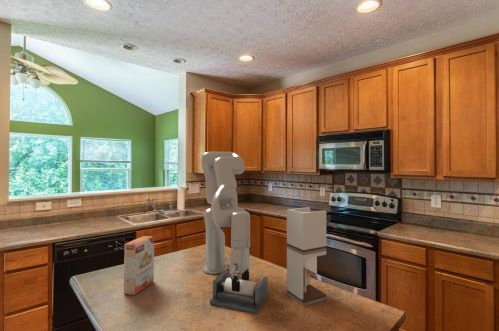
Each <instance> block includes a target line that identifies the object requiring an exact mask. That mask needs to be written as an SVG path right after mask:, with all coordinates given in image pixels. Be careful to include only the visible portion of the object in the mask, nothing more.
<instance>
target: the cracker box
mask: <svg viewBox="0 0 499 331" xmlns="http://www.w3.org/2000/svg"><path fill="white" fill-rule="evenodd" d="M123 247H124V251H123V252H124V253H123V254H124V255H123V257H124V259H123V294H124V295H130V296H136V295H138V294H139V293H141V292H142V291H143V290H145V288H147V287H149V285H151V284H152V283H153V282H154V278H155V276H154V270H155V266H154V265H155V236H151V235H149V236H147V235H143V236H140V237H139V238H135V239H133V240H131V241H128V242H126V243H124V246H123Z"/></svg>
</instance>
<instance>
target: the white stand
mask: <svg viewBox="0 0 499 331" xmlns="http://www.w3.org/2000/svg"><path fill="white" fill-rule="evenodd" d="M326 255H327V210H318V211H311V207H309V206H308V207H298V208H297V207H296V208H288V209H286V295H287V296H289V297H290V298H292V299H293V301H295V302H297V303H298V304H300V305H301V306H302V307H307V306H310V305H312V304H315V303H319V302H323V301H325V300H327V294H326V293H325V292H324V291H321V290H320V289H318V288H317V287H315V286H313V285H311V276H314V275H317V274H318V259H317V258H318V257H321V256H326Z"/></svg>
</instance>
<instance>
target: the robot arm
mask: <svg viewBox="0 0 499 331" xmlns="http://www.w3.org/2000/svg"><path fill="white" fill-rule="evenodd" d="M200 159H201V160H200V162H201V163H200V164H201V168H202V172H203V174H204V177H205V195H206V196H205V197H206V201H207V202H206V203H208V204H209V205H211V206H210V207H209V208H207V209H205V211H204V213H203V219H204V225H205V265H204V266H203V267H202V271H203V272H204V273H205V274H210V275H218V274H219V275H220V274H222V273H223V272H224V271H229V275H230V278H231V281H232V291H236V292H239V291H240V281H239V279H240V278H241V280H246V281H250V265H251V263H250V262H251V261H250V260H251V258H250V247H251V215H250V212H249V211H246V210H245V209H244V208H242V207H238V206H239V205H238V204H239V203H238V192H237V186H238V184H237V180H236V177H235V176H236V175H241V174H243V173H244V172H245V168H246V166H245V162H244V159H243V158H242V157H241V156H240V155H239V154H237V153H236V152H233V151H205V152H204V153H202V156H201V158H200ZM220 205H227V206H220ZM229 227H230V237H231V238H230V243H231V244H230V245H231V246H230V247H231V249H230V258H229V266H228V265H227V264H226V261H227V260H228V257H227V256H226V252H225V251H226V249H225V248H226V235H225V232H224V231H223V229H221V228H229ZM228 269H229V270H228Z"/></svg>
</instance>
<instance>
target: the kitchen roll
mask: <svg viewBox="0 0 499 331" xmlns="http://www.w3.org/2000/svg"><path fill="white" fill-rule="evenodd" d="M239 281H240V291H239V292H236V291H232V281H231V277H228V278H227V279H226V281H225V284H224V293H229V294H235V295H240V296H246V297H251V298H255V288H256V286H257V285H258V282H257V281H251V280H249V281H246V280H242V279H240V278H239Z"/></svg>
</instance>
